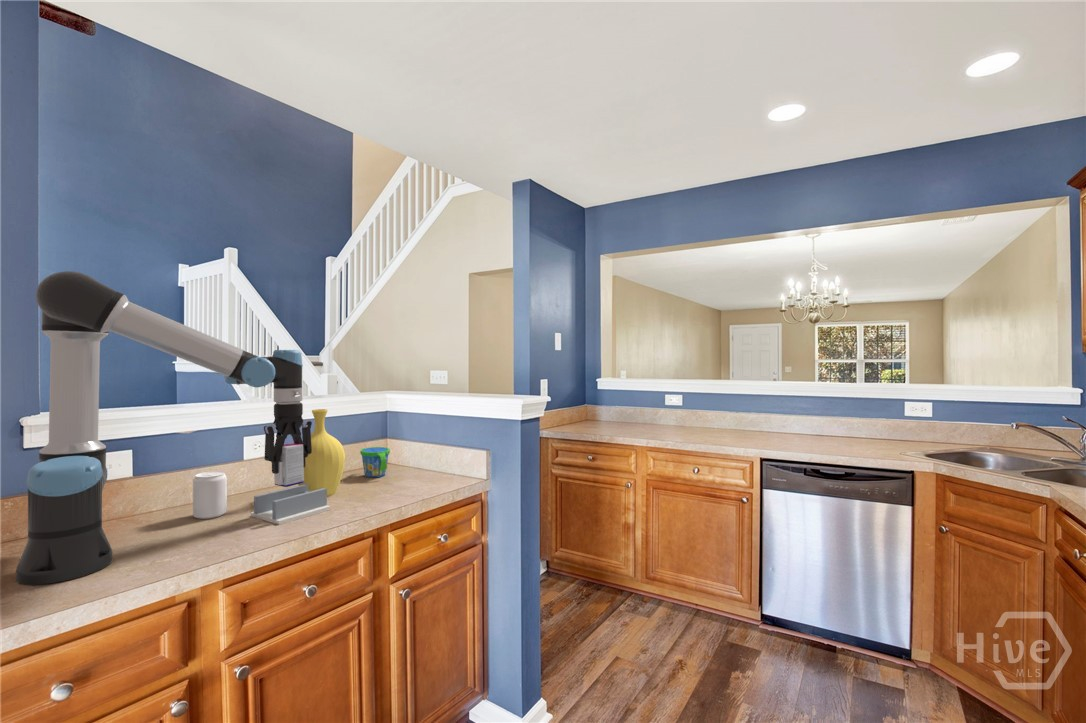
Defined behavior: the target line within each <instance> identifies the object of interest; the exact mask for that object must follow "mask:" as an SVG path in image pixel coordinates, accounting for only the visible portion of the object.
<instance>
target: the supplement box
mask: <svg viewBox="0 0 1086 723" xmlns="http://www.w3.org/2000/svg"><path fill="white" fill-rule="evenodd" d="M280 462H282V477H283V485H277V484H275V483H274V486H277V487H278V486H280V487H283V488H290V487H294V486H298V484H301V483H304V468H303V445H302V444H294V442H293V443H292V442H291V443H284V446H283V447H282V453H281V457H280Z"/></svg>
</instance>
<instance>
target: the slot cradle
mask: <svg viewBox="0 0 1086 723" xmlns="http://www.w3.org/2000/svg"><path fill="white" fill-rule="evenodd" d="M327 498H328V496H327V489H325V488H322V489H318V490H314V491H308V484H303V485H299V486H298V485H294V486H289V487H285V488H282V489H279V490H278V489H277V490H273V491H270V492H269V491H268V492H266V493H261V494H257V495H254V496H253V511H251V512H250V517H253V518H257V519H259V520H262V521H266V522H269V523H272V524H275V525H279V526H280V525H283V524H287V523H289V522H293V521H296V520H300V519H304V518H306V517H309V516H314V515H318V514H320V513H324V512H327V511H329V510H331V506H330V505H328V504H327V503H328V501H327V500H328V499H327Z"/></svg>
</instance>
